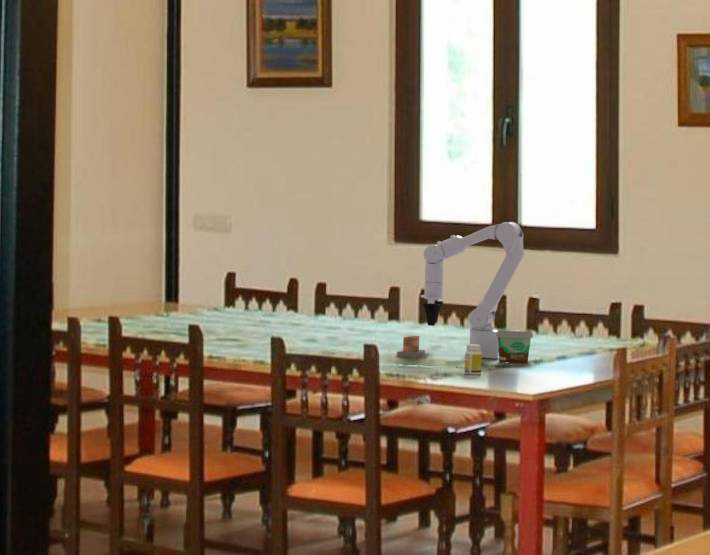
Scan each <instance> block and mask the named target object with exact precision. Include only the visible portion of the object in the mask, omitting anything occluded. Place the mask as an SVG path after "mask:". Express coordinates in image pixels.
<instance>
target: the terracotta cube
mask: <svg viewBox="0 0 710 555" xmlns="http://www.w3.org/2000/svg"><path fill="white" fill-rule="evenodd" d="M402 343H403V344H402V349H403V351H407V352H418V351H419V350H420V335H410V334H409V335H407V334H405V335H404V336H403V340H402Z"/></svg>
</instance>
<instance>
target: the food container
mask: <svg viewBox="0 0 710 555" xmlns="http://www.w3.org/2000/svg"><path fill="white" fill-rule="evenodd" d="M497 330H498V332H497V334H496V336H497V337H498V349H499V353H498V362H500V363H503V362H510V363H509V364H518V363H519V364H527V363H528V362H529V355H530V354H529V353H530V346H531V339H532V338H534V335H533V330H532V329H530V328H529V329H528V331H525V330H524V331H522V330H521V331H517V330H501V329H497Z"/></svg>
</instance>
